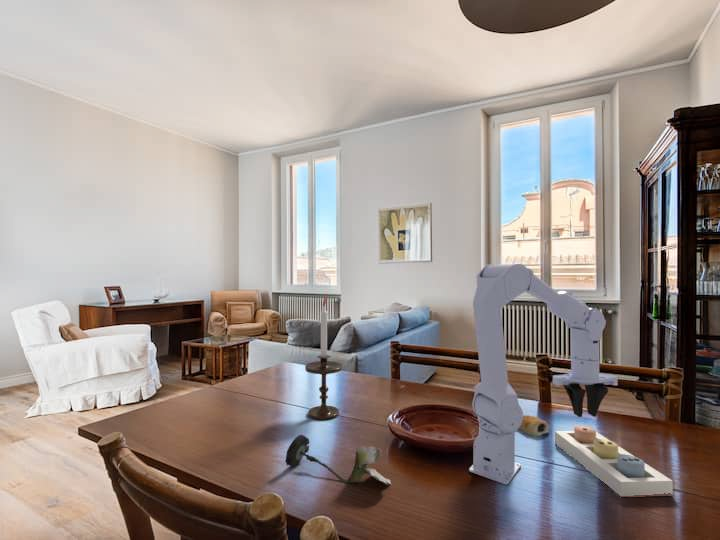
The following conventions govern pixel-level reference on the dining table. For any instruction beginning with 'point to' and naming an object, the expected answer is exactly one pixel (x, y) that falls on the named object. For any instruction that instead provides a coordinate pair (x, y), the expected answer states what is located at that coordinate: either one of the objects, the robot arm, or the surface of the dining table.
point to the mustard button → (605, 449)
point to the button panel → (613, 468)
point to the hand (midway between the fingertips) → (584, 415)
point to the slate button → (630, 466)
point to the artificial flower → (362, 459)
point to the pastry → (533, 426)
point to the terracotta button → (584, 434)
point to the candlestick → (323, 374)
